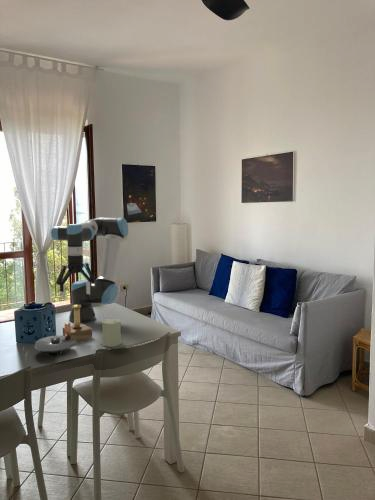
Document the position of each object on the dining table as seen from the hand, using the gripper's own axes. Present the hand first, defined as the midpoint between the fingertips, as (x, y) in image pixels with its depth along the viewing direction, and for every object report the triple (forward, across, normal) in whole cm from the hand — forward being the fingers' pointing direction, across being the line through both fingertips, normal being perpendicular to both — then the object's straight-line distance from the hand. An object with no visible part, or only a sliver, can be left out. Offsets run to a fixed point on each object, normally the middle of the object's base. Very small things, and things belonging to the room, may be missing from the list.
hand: (76, 295), depth 208 cm
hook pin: (+22, 0, 0) cm, 22 cm away
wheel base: (+22, -17, -12) cm, 30 cm away
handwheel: (+19, -17, -12) cm, 28 cm away
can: (+22, +9, -19) cm, 31 cm away
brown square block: (+22, 0, 0) cm, 22 cm away
